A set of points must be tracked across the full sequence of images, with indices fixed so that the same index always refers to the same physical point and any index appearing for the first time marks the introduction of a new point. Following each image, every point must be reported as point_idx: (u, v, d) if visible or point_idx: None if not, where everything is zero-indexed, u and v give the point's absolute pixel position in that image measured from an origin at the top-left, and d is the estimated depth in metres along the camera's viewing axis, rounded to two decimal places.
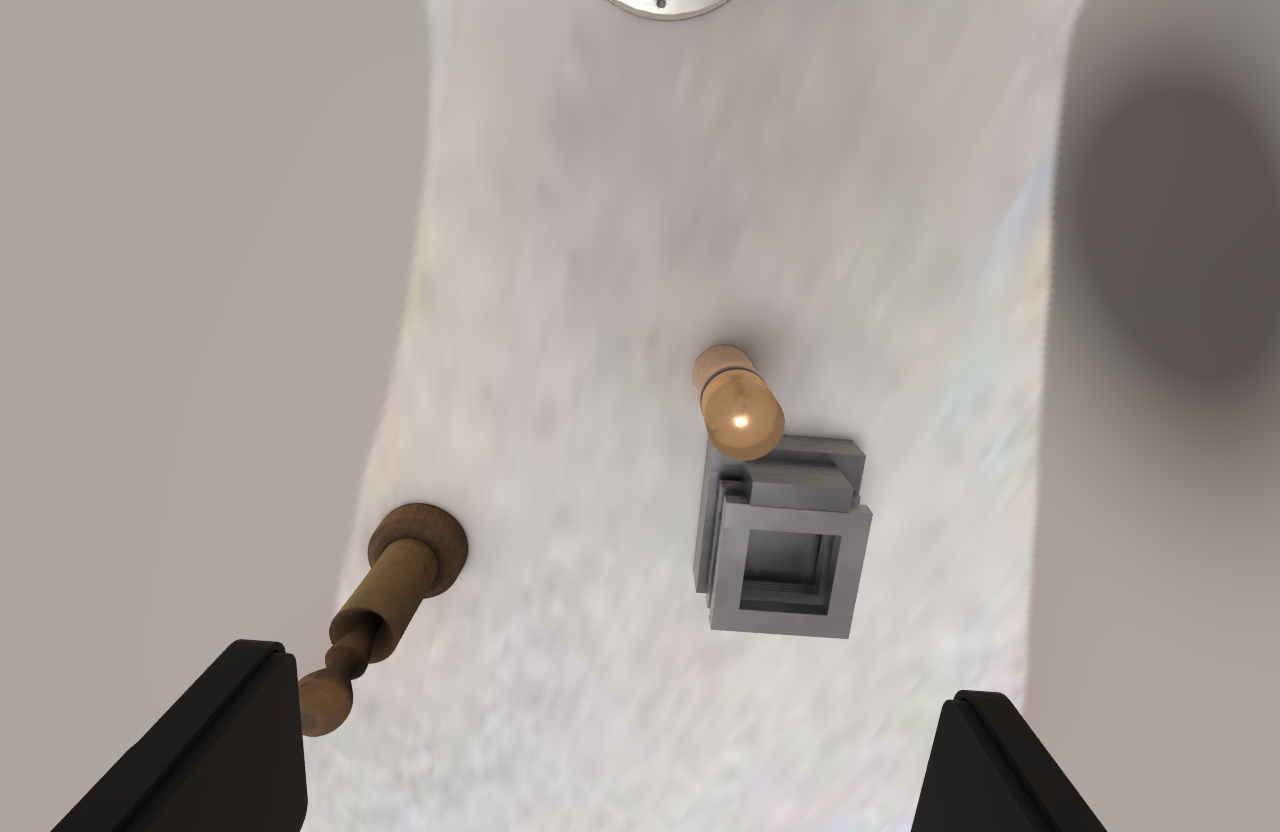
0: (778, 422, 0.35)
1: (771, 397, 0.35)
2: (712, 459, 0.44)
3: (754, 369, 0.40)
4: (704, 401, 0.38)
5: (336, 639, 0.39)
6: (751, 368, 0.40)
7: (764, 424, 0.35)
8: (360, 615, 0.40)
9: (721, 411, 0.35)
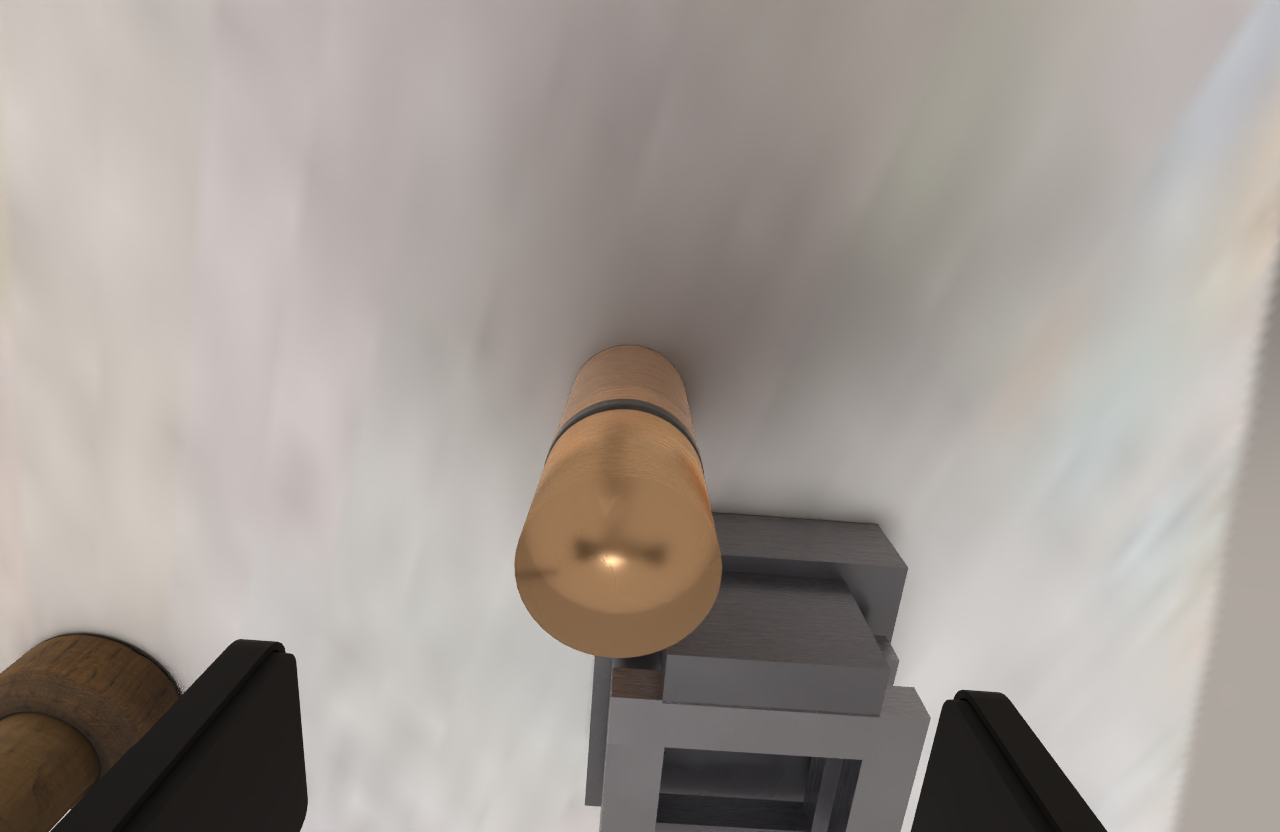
0: (705, 566, 0.13)
1: (684, 502, 0.13)
2: None
3: (672, 403, 0.18)
4: None
5: None
6: (663, 402, 0.18)
7: (667, 570, 0.13)
8: None
9: (549, 538, 0.13)
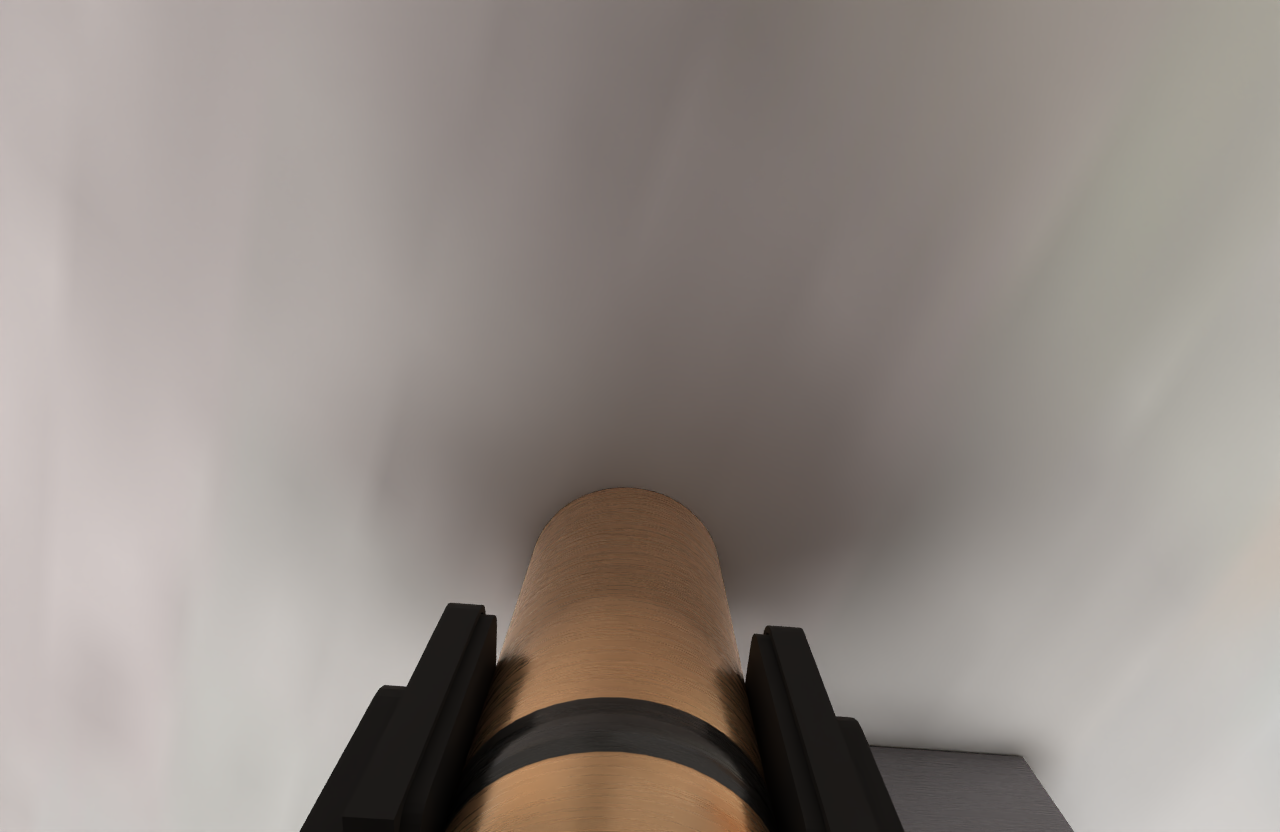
0: None
1: None
2: None
3: (710, 669, 0.09)
4: None
5: None
6: (693, 685, 0.08)
7: None
8: None
9: None
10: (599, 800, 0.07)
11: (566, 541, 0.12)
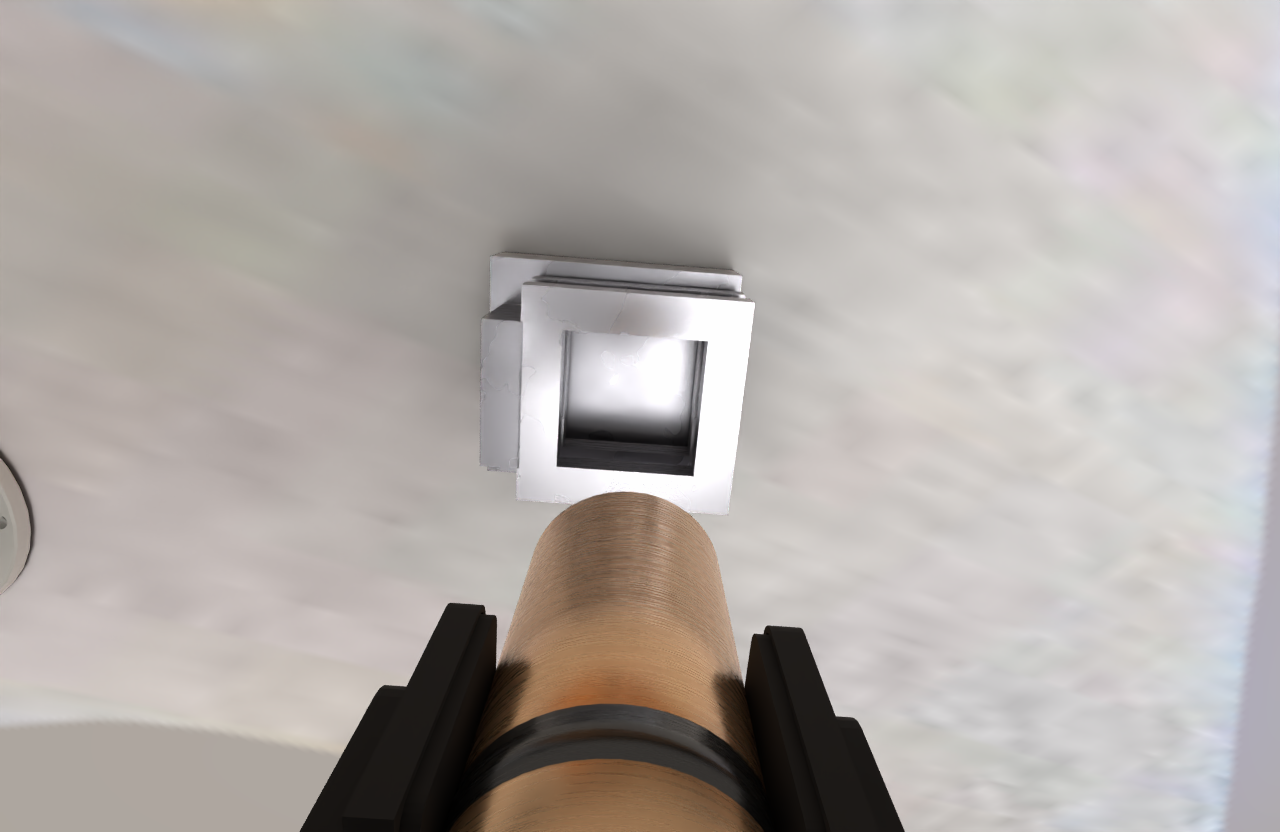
0: None
1: None
2: (509, 470, 0.32)
3: (710, 674, 0.09)
4: None
5: None
6: (692, 691, 0.08)
7: None
8: None
9: None
10: (598, 808, 0.06)
11: (565, 545, 0.12)
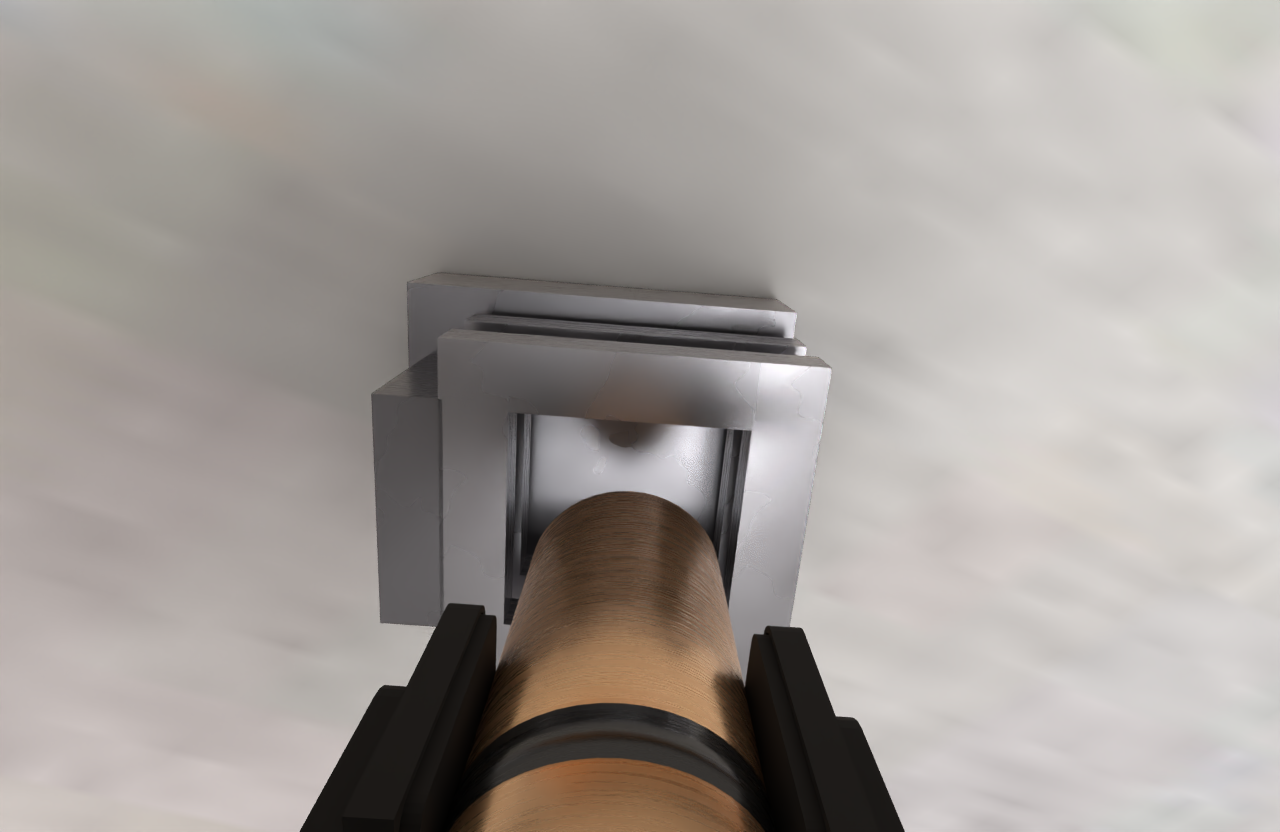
0: None
1: None
2: None
3: (710, 673, 0.09)
4: None
5: None
6: (693, 690, 0.08)
7: None
8: None
9: None
10: (598, 807, 0.07)
11: (566, 545, 0.12)
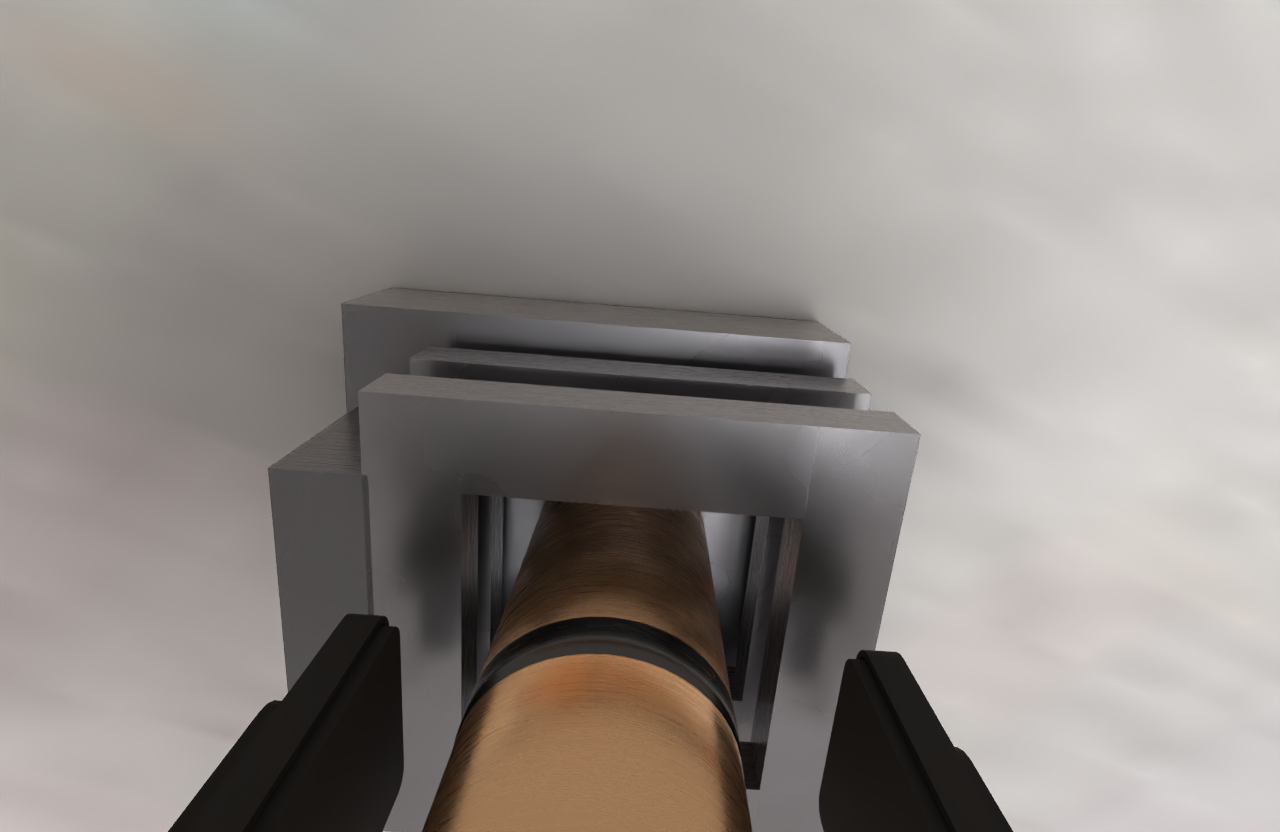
0: None
1: None
2: None
3: (686, 602, 0.11)
4: None
5: None
6: (670, 612, 0.10)
7: None
8: None
9: None
10: (587, 685, 0.08)
11: (567, 504, 0.14)
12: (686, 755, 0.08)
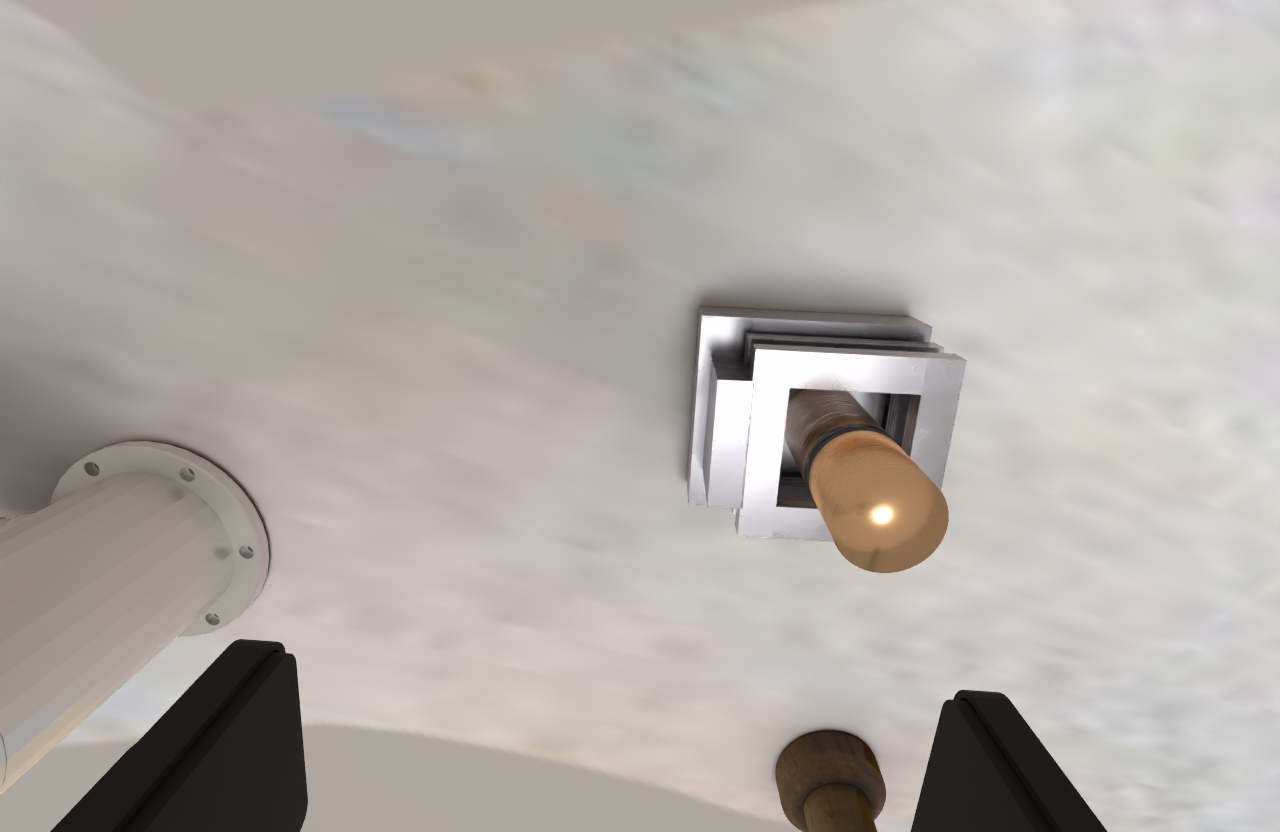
0: (939, 518, 0.23)
1: (930, 482, 0.23)
2: None
3: (879, 425, 0.29)
4: (817, 479, 0.26)
5: None
6: (877, 425, 0.28)
7: (917, 521, 0.24)
8: None
9: (853, 503, 0.23)
10: (865, 435, 0.26)
11: (809, 400, 0.32)
12: (901, 450, 0.26)
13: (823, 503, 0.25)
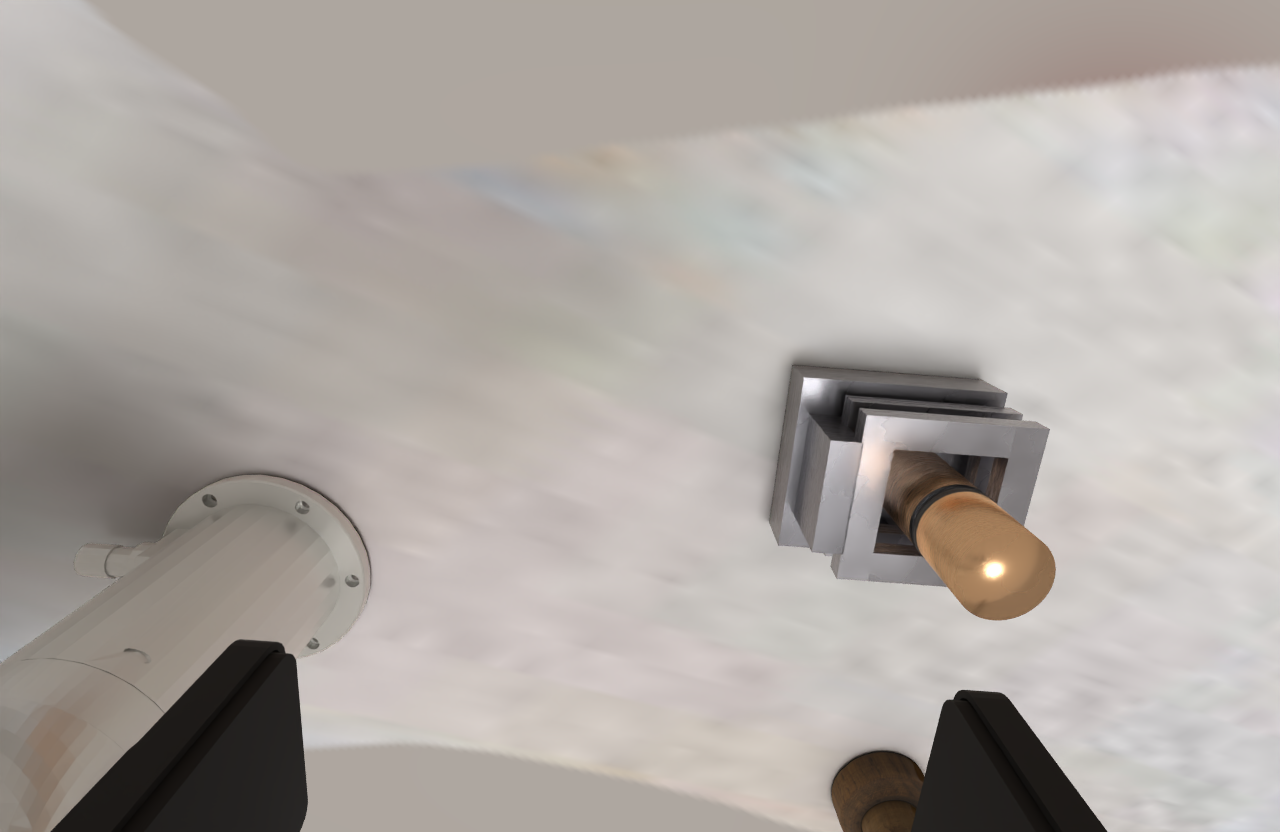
0: (1047, 574, 0.27)
1: (1042, 544, 0.27)
2: (796, 545, 0.39)
3: None
4: (930, 535, 0.30)
5: None
6: (973, 485, 0.32)
7: (1028, 576, 0.27)
8: None
9: (975, 561, 0.27)
10: (971, 497, 0.30)
11: (901, 456, 0.35)
12: (1005, 511, 0.29)
13: (941, 558, 0.28)
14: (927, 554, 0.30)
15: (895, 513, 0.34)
